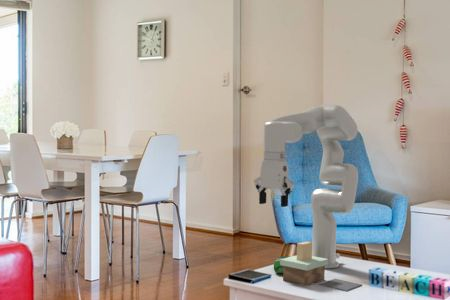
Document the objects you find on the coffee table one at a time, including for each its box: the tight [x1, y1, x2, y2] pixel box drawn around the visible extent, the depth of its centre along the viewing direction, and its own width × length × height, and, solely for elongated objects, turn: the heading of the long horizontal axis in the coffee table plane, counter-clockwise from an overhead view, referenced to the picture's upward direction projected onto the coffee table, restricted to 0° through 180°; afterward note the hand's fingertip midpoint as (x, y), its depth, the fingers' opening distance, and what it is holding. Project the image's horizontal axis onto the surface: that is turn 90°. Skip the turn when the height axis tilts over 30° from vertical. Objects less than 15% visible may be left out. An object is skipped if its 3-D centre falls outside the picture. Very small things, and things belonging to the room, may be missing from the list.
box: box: [282, 266, 326, 287], centre depth 210 cm, size 12×10×7 cm
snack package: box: [273, 255, 290, 274], centre depth 223 cm, size 7×16×5 cm, turn 165°
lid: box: [280, 240, 328, 271], centre depth 210 cm, size 14×12×8 cm
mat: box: [318, 278, 363, 292], centre depth 204 cm, size 11×11×1 cm
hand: (273, 205), depth 203 cm, fingers open, 9 cm apart
